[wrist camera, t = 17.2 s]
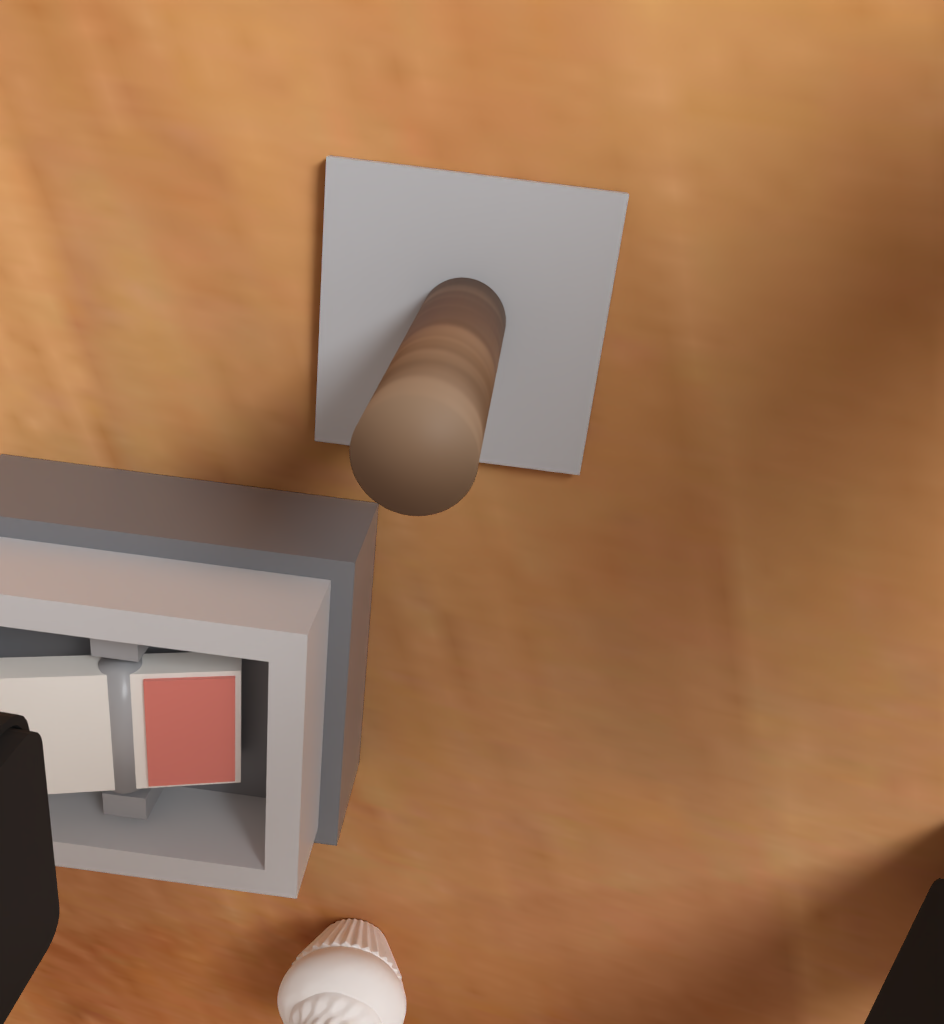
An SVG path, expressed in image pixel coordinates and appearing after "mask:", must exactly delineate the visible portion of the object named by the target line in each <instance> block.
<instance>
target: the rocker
mask: <svg viewBox="0 0 944 1024" xmlns="http://www.w3.org/2000/svg"><path fill="white" fill-rule="evenodd" d="M241 668H242V658H236V657H228V656H221V655H213V654H206V653H198V652H187V653H151V654H144V655H143V656H142V657H141V659H140V660H139V662H135V661H127V660H120V659H112V658H105V657H97V656H91V655H79V656H43V657H7V658H0V712H6V713H12V714H18V715H22V716H24V717H25V719H26V720H27V722H28V726H29V730H30V731H33V732H38V733H39V734H40V736H41V738H42V742H43V752H44V762H45V772H46V782H47V791H48V794H60V793H76V792H93V791H109V790H112V791H113V792H116V793H121V794H126V793H132V792H135V791H137V790H139V789H141V788H157V787H174V786H190V785H206V784H222V783H239V782H241Z"/></svg>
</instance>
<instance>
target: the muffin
mask: <svg viewBox="0 0 944 1024" xmlns="http://www.w3.org/2000/svg"><path fill="white" fill-rule="evenodd" d="M401 979H402V976H401V974H400V971H399V969H398V967H397V964H396V962H395V959H394V957H393V955H392V952H391V950H390V947H389V945H388V942H387V940H386V938H385V936H384V934H383V933H382V932H381V930H380V929H378V927H375V926H373V924H370V923H368V922H367V921H362V920H361V919H360V920H357V919H350V918H348V919H347V920H345V919H342V920H341V921H336V922H335V923H334V924H331V925H330V926H328V927H327V928H326V929H325V930H324V931H323V932H322V933H321V934H320V935H319V936H318V937H317V938H316V939H314V940H313V941H312V942H311V943H310V944H309V945H308V946H307V947H306V948H305V949H304V950H303V951H302V952H301V953H300V954H299V955H298V956H297V957H296V960H295V961H294V962H293V963H292V966H291V967H290V969H289V970H288V971H287V973H286V974H285V976H284V978H283V979H282V982H281V984H280V987H279V991H278V997H277V1004H278V1010H279V1013H280V1016H281V1018H282V1021H283V1023H284V1024H403V1022H404V1018H405V1014H406V996H405V991H404V988H403V983H402V980H401Z"/></svg>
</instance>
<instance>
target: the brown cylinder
mask: <svg viewBox="0 0 944 1024" xmlns="http://www.w3.org/2000/svg"><path fill="white" fill-rule="evenodd" d="M505 327H506V315H505V310H504V307H503V304H502V302H501V300H500V298H499V297H498V296H497V294H496V293H495V292H494V291H493V290H492V289H491V288H490V287H489V286H487V285H486V284H484V283H482V282H480V281H478V280H475V279H471V278H463V277H460V278H453V279H449V280H446V281H444V282H442V283H440V284H439V285H437V286H436V287H435V288H434V289H433V290H432V291H431V292H430V293H429V294H428V296H427V297H426V299H425V301H424V303H423V304H422V306H421V308H420V310H419V312H418V314H417V315H416V317H415V319H414V321H413V323H412V325H411V326H410V328H409V330H408V332H407V334H406V336H405V337H404V339H403V341H402V343H401V345H400V347H399V348H398V350H397V352H396V354H395V356H394V358H393V359H392V361H391V363H390V365H389V367H388V369H387V370H386V372H385V374H384V376H383V378H382V380H381V381H380V383H379V385H378V387H377V389H376V391H375V392H374V394H373V396H372V398H371V400H370V402H369V403H368V405H367V407H366V409H365V411H364V413H363V414H362V416H361V418H360V420H359V422H358V424H357V425H356V427H355V430H354V432H353V434H352V438H351V442H350V450H349V452H350V463H351V467H352V470H353V473H354V476H355V478H356V480H357V482H358V483H359V485H360V486H361V488H362V489H363V490H364V491H365V493H366V494H367V495H368V496H369V497H370V498H372V499H373V500H374V501H375V502H377V503H378V504H380V505H381V506H383V507H385V508H387V509H389V510H391V511H393V512H397V513H400V514H404V515H410V516H426V515H432V514H436V513H439V512H442V511H444V510H447V509H449V508H450V507H452V506H454V505H455V504H456V503H458V502H459V501H460V500H461V499H462V498H463V497H464V496H465V495H466V494H467V492H468V491H469V490H470V488H471V486H472V484H473V482H474V480H475V477H476V474H477V469H478V464H479V459H480V454H481V449H482V444H483V439H484V434H485V429H486V424H487V419H488V414H489V408H490V403H491V398H492V393H493V388H494V383H495V378H496V373H497V368H498V363H499V358H500V353H501V348H502V343H503V338H504V333H505Z"/></svg>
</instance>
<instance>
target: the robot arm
mask: <svg viewBox="0 0 944 1024" xmlns="http://www.w3.org/2000/svg"><path fill="white" fill-rule="evenodd" d="M58 919H59V900H58V890H57V880H56V870H55V860H54V850H53V841H52V831H51V821H50V811H49V801H48V791H47V782H46V772H45V762H44V752H43V742H42V738H41V736H40V734H39V733H38V732H33V731H30V730H29V726H28V722H27V720H26V719H25V717H24V716H22V715H18V714H12V713H6V712H0V1024H4V1022H5V1020H6V1018H7V1017H8V1015H9V1013H10V1012H11V1010H12V1008H13V1007H14V1005H15V1003H16V1002H17V1000H18V998H19V997H20V995H21V993H22V992H23V990H24V988H25V986H26V985H27V983H28V981H29V980H30V978H31V976H32V975H33V973H34V971H35V970H36V968H37V966H38V965H39V963H40V961H41V960H42V958H43V956H44V954H45V953H46V951H47V949H48V948H49V946H50V944H51V942H52V939H53V937H54V934H55V931H56V928H57V924H58ZM864 1024H944V879H941V878H939V879H938V880H936V881H935V882H934V883H933V884H932V886H931V888H930V890H929V892H928V894H927V896H926V898H925V900H924V902H923V904H922V906H921V908H920V910H919V912H918V914H917V916H916V918H915V920H914V923H913V925H912V927H911V929H910V931H909V933H908V935H907V937H906V939H905V941H904V943H903V945H902V947H901V949H900V951H899V953H898V955H897V957H896V960H895V962H894V964H893V966H892V968H891V970H890V972H889V974H888V976H887V978H886V980H885V982H884V984H883V986H882V988H881V990H880V992H879V994H878V996H877V999H876V1001H875V1003H874V1005H873V1007H872V1009H871V1011H870V1013H869V1015H868V1017H867V1019H866V1021H865V1023H864Z"/></svg>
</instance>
